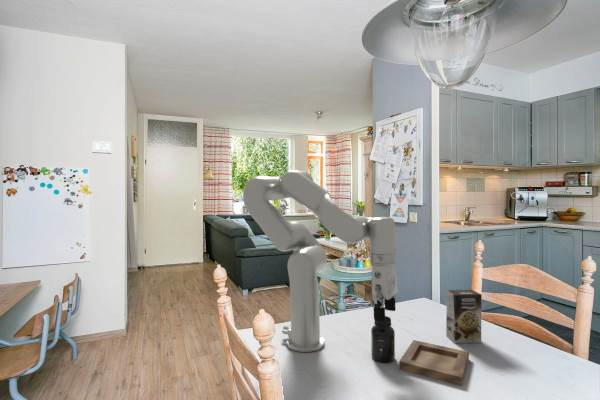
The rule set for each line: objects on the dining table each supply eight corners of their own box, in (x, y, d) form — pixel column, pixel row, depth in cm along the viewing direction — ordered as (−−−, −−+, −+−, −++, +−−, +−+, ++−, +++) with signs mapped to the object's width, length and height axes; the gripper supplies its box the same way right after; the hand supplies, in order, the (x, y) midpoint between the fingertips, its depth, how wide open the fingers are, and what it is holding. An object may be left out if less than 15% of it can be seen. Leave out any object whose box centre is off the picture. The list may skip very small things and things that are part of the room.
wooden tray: (399, 369, 95) (399, 361, 95) (413, 346, 109) (413, 339, 109) (461, 385, 87) (461, 377, 87) (468, 359, 100) (468, 351, 100)
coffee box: (455, 344, 110) (454, 295, 110) (445, 335, 117) (445, 289, 116) (482, 343, 110) (482, 294, 110) (471, 335, 117) (471, 288, 116)
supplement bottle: (367, 359, 101) (367, 319, 101) (376, 350, 107) (376, 312, 106) (389, 365, 97) (389, 324, 97) (398, 356, 103) (397, 317, 102)
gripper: (385, 265, 92) (388, 327, 92) (403, 254, 106) (405, 308, 106) (360, 263, 96) (362, 323, 96) (380, 252, 110) (382, 305, 110)
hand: (385, 315), depth 101 cm, fingers open, 9 cm apart
